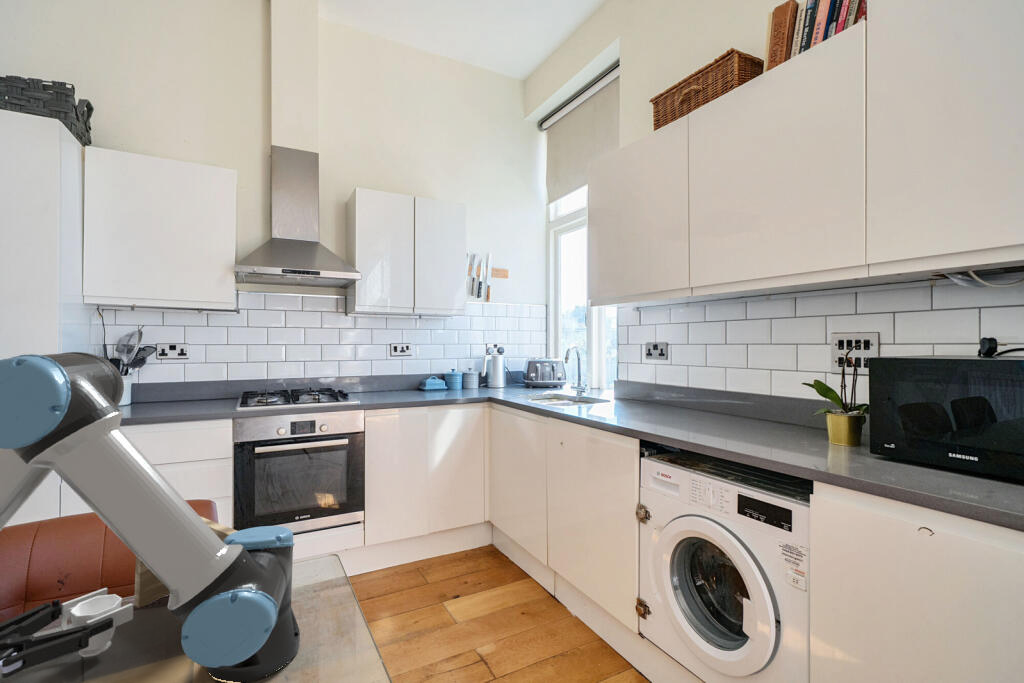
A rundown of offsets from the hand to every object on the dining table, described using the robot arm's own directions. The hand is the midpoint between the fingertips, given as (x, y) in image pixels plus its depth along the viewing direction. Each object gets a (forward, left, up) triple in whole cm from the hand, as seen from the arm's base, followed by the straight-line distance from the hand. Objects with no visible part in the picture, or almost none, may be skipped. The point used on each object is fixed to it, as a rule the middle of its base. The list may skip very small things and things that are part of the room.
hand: (118, 602), depth 88 cm
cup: (0, +4, -6) cm, 8 cm away
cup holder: (0, -12, -8) cm, 14 cm away
